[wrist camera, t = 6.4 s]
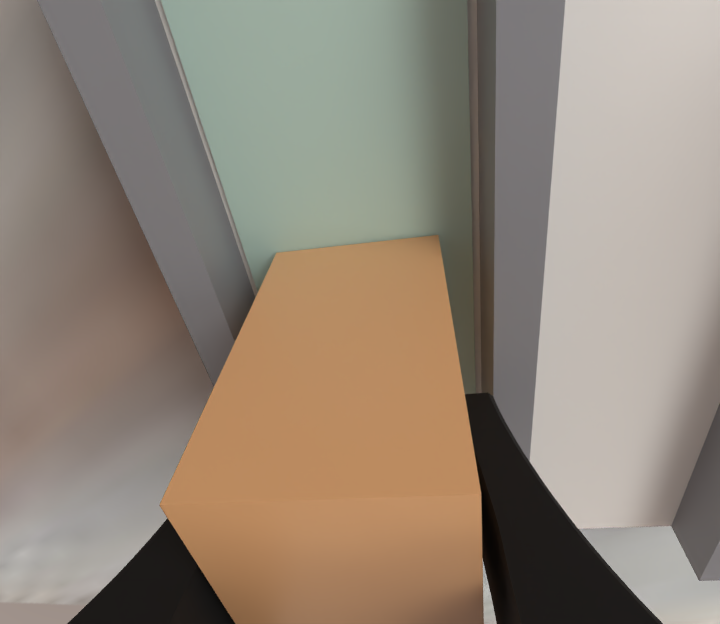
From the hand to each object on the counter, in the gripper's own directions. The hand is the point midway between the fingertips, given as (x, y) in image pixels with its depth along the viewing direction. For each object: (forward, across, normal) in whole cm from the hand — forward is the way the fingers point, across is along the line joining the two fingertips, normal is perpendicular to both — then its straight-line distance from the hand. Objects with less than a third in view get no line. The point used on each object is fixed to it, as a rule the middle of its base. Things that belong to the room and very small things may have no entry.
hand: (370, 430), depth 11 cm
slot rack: (+4, -4, 0) cm, 5 cm away
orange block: (+3, 0, 0) cm, 3 cm away
